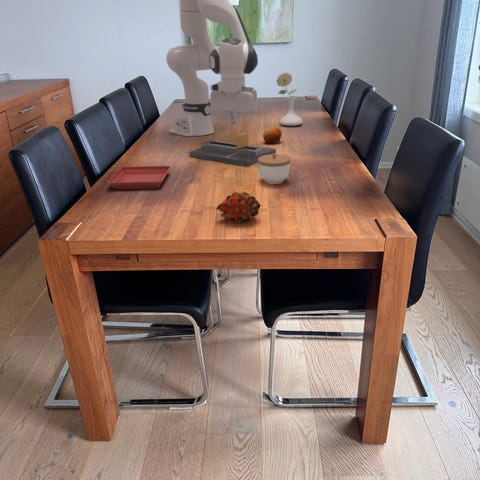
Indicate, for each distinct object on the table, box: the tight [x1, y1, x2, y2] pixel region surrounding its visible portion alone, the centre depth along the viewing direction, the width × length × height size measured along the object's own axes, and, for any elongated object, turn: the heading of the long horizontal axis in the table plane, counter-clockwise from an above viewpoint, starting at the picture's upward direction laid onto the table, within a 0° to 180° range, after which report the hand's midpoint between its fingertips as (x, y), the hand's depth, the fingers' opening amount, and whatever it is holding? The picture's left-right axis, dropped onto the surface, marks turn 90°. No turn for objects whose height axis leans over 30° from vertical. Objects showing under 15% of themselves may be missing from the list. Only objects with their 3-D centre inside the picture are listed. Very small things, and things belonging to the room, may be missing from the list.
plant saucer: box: [107, 165, 172, 190], centre depth 160 cm, size 18×18×3 cm
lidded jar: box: [257, 152, 292, 185], centre depth 155 cm, size 11×11×9 cm
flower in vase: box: [276, 72, 303, 127], centre depth 229 cm, size 13×11×25 cm
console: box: [188, 139, 277, 168], centre depth 186 cm, size 28×20×4 cm
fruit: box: [262, 126, 282, 145], centre depth 202 cm, size 8×8×8 cm
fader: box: [235, 132, 249, 149], centre depth 182 cm, size 2×5×7 cm, turn 145°
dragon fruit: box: [216, 191, 261, 224], centre depth 127 cm, size 8×8×12 cm
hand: (234, 123), depth 181 cm, fingers closed
